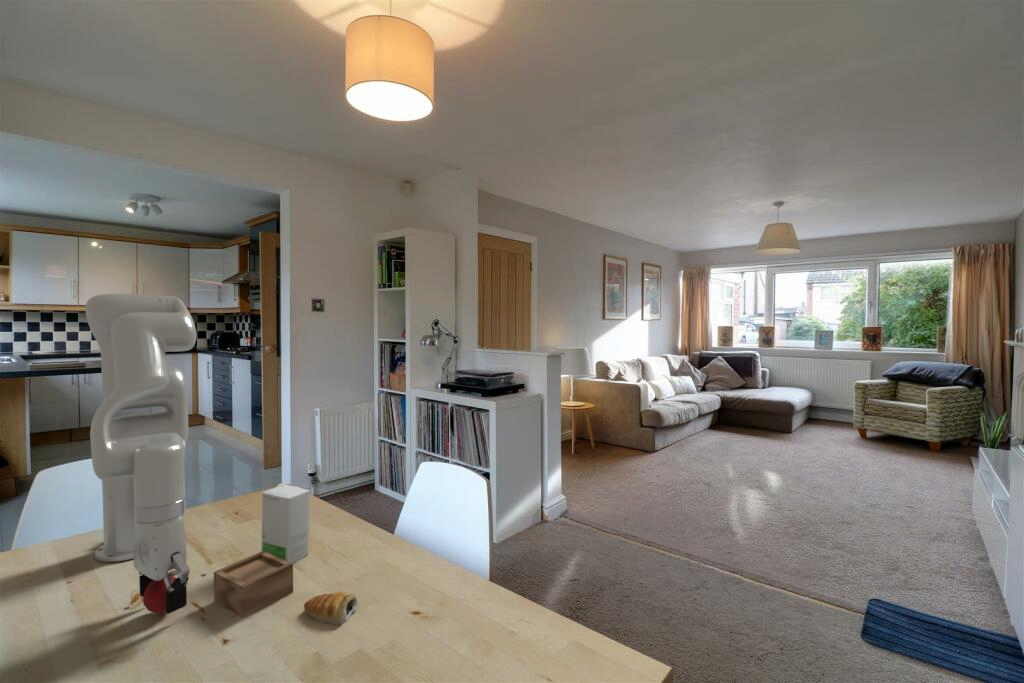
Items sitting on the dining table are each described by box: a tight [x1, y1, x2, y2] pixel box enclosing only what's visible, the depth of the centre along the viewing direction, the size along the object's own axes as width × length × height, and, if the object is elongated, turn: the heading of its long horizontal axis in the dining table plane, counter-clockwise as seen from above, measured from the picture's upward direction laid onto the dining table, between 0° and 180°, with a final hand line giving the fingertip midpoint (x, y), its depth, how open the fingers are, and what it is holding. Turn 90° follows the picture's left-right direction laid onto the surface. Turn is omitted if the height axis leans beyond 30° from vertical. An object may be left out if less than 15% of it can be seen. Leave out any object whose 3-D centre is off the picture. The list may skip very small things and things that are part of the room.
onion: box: [142, 576, 177, 615], centre depth 90 cm, size 6×6×8 cm
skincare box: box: [260, 484, 311, 565], centre depth 111 cm, size 8×7×16 cm
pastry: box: [303, 591, 359, 626], centre depth 91 cm, size 9×7×4 cm
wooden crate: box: [213, 551, 294, 619], centre depth 96 cm, size 10×10×6 cm
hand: (163, 601), depth 90 cm, fingers open, 9 cm apart
